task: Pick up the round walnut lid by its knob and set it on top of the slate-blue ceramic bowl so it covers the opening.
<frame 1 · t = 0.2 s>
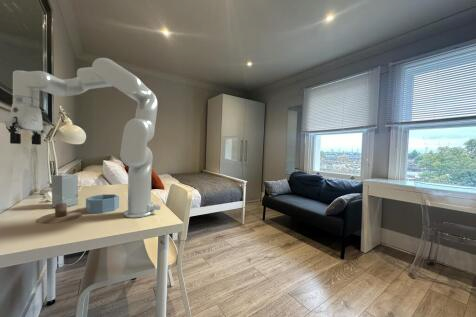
hand: (26, 144, 83), 30 cm above the table, tool pointing down, fingers open, 9 cm apart
skincare box: (65, 206, 100), on the table
walnut lid: (61, 218, 83), on the table
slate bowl: (102, 209, 96), on the table
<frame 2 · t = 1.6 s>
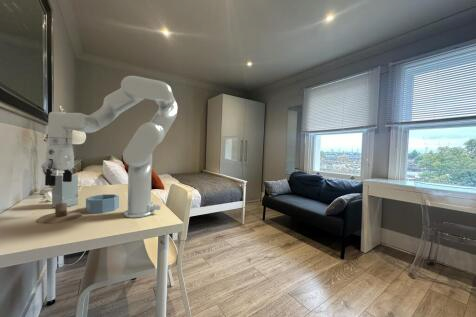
hand: (59, 183, 83), 14 cm above the table, tool pointing down, fingers open, 9 cm apart
nothing on the table moved.
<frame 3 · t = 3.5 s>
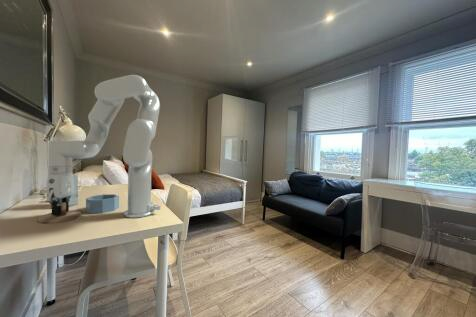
hand: (60, 213, 83), 2 cm above the table, tool pointing down, fingers closed on walnut lid, 3 cm apart
walnut lid: (60, 217, 83), on the table, touching gripper
everything else where it was.
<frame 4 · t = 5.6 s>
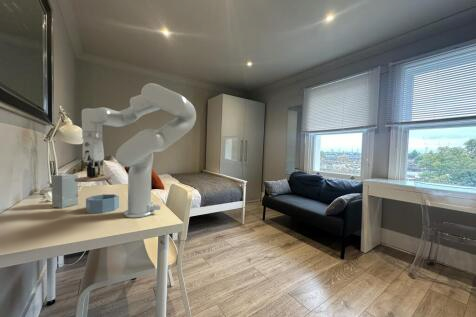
hand: (93, 175, 92), 17 cm above the table, tool pointing down, fingers closed on walnut lid, 3 cm apart
walnut lid: (93, 179, 92), point 15 cm above the table, touching gripper
everything else where it was.
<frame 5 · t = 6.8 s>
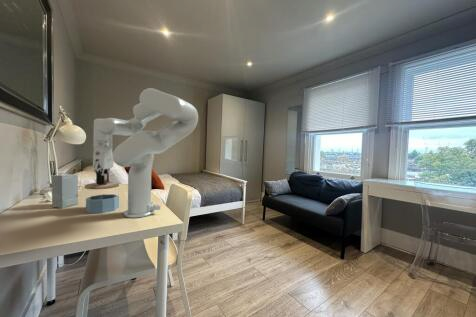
hand: (102, 182, 96), 13 cm above the table, tool pointing down, fingers closed on walnut lid, 3 cm apart
walnut lid: (102, 186, 96), point 11 cm above the table, touching gripper
everything else where it was.
when the fingers open (9 cm above the table, at t = 7.7 s): walnut lid drops 1 cm, resting on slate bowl.
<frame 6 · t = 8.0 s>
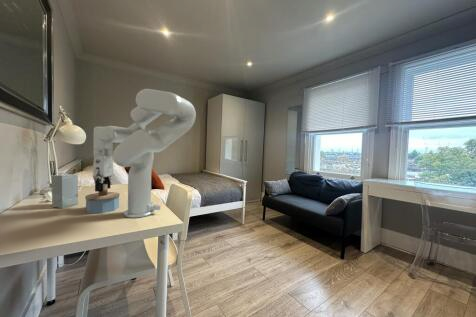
hand: (103, 189, 96), 10 cm above the table, tool pointing down, fingers open, 6 cm apart
walnut lid: (103, 197, 96), point 6 cm above the table, touching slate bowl
everything else where it was.
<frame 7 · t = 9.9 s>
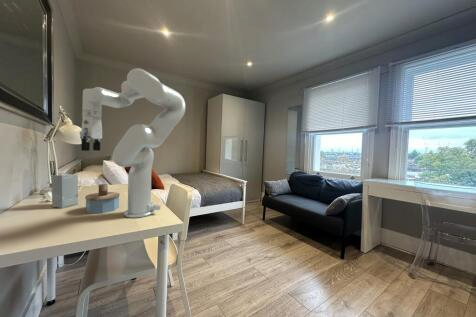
hand: (91, 150, 98), 28 cm above the table, tool pointing down, fingers open, 9 cm apart
nothing on the table moved.
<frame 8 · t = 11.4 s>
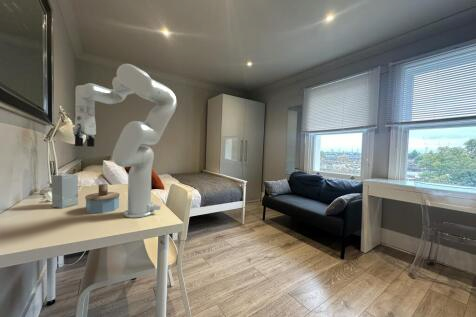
hand: (85, 146, 99), 30 cm above the table, tool pointing down, fingers open, 9 cm apart
nothing on the table moved.
at the end: walnut lid 0.0 cm off-centre on the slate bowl, point 6.0 cm above the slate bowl's base; walnut lid tilted 0°; the gripper is holding nothing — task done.
